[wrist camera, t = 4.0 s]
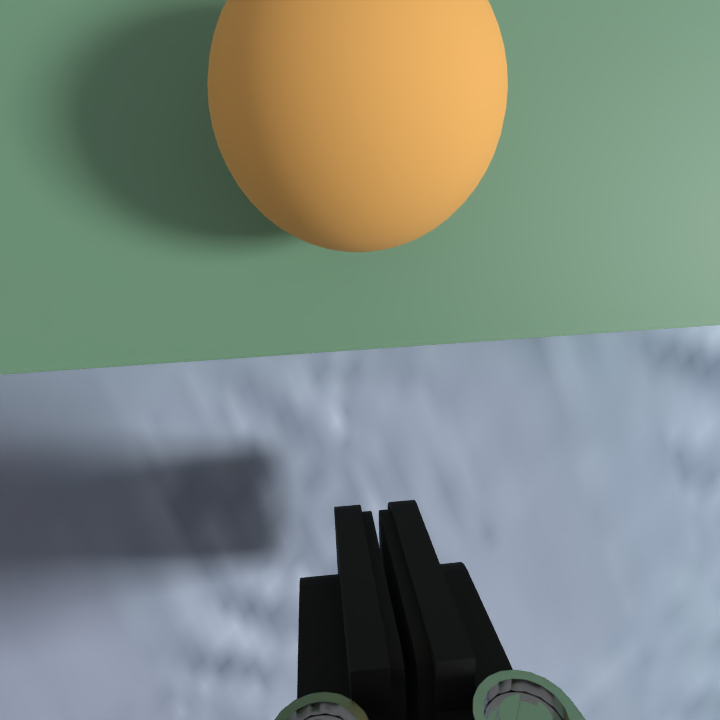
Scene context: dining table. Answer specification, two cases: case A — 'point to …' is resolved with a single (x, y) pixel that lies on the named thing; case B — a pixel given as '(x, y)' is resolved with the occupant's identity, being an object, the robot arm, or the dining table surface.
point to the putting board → (338, 268)
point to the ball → (357, 112)
